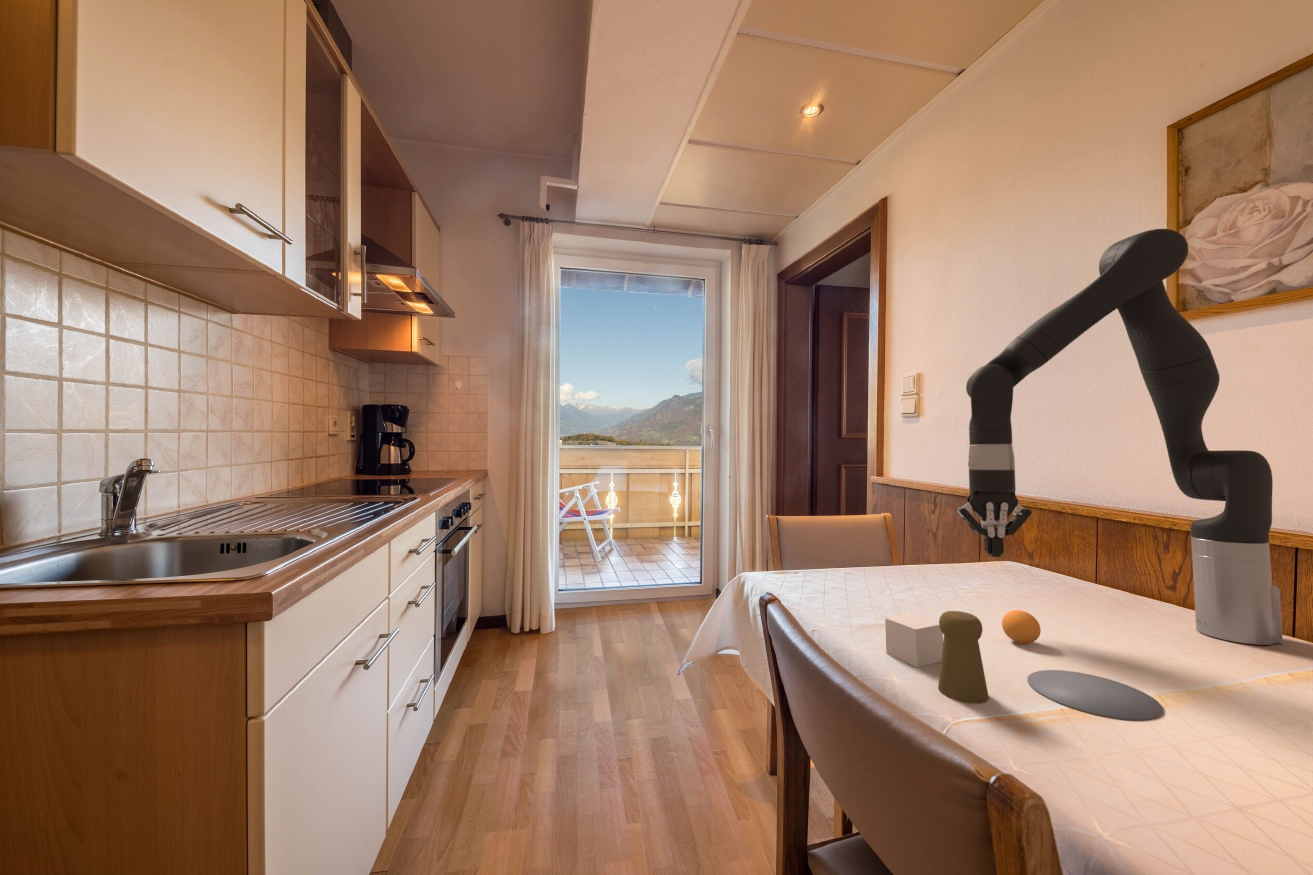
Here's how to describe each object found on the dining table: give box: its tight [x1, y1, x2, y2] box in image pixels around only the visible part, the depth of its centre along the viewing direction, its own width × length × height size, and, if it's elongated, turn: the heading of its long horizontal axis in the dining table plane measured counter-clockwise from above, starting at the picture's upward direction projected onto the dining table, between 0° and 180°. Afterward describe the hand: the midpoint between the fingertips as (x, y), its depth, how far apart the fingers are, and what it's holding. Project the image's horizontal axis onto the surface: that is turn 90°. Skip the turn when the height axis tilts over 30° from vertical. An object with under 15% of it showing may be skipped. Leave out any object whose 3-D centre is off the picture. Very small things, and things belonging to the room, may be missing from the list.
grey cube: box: [884, 613, 944, 668], centre depth 82 cm, size 6×6×6 cm
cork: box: [937, 610, 990, 704], centre depth 69 cm, size 6×6×11 cm
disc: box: [1027, 669, 1164, 721], centre depth 68 cm, size 14×14×1 cm
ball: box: [1001, 609, 1041, 644], centre depth 87 cm, size 6×6×6 cm
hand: (994, 556), depth 96 cm, fingers closed
